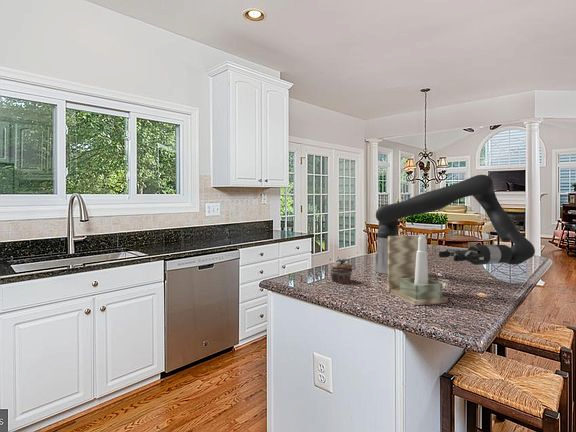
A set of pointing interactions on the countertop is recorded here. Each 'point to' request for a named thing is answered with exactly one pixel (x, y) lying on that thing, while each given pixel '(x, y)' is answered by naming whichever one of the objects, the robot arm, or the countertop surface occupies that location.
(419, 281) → the cosmetic bottle
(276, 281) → the countertop surface
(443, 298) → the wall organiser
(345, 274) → the cupcake
